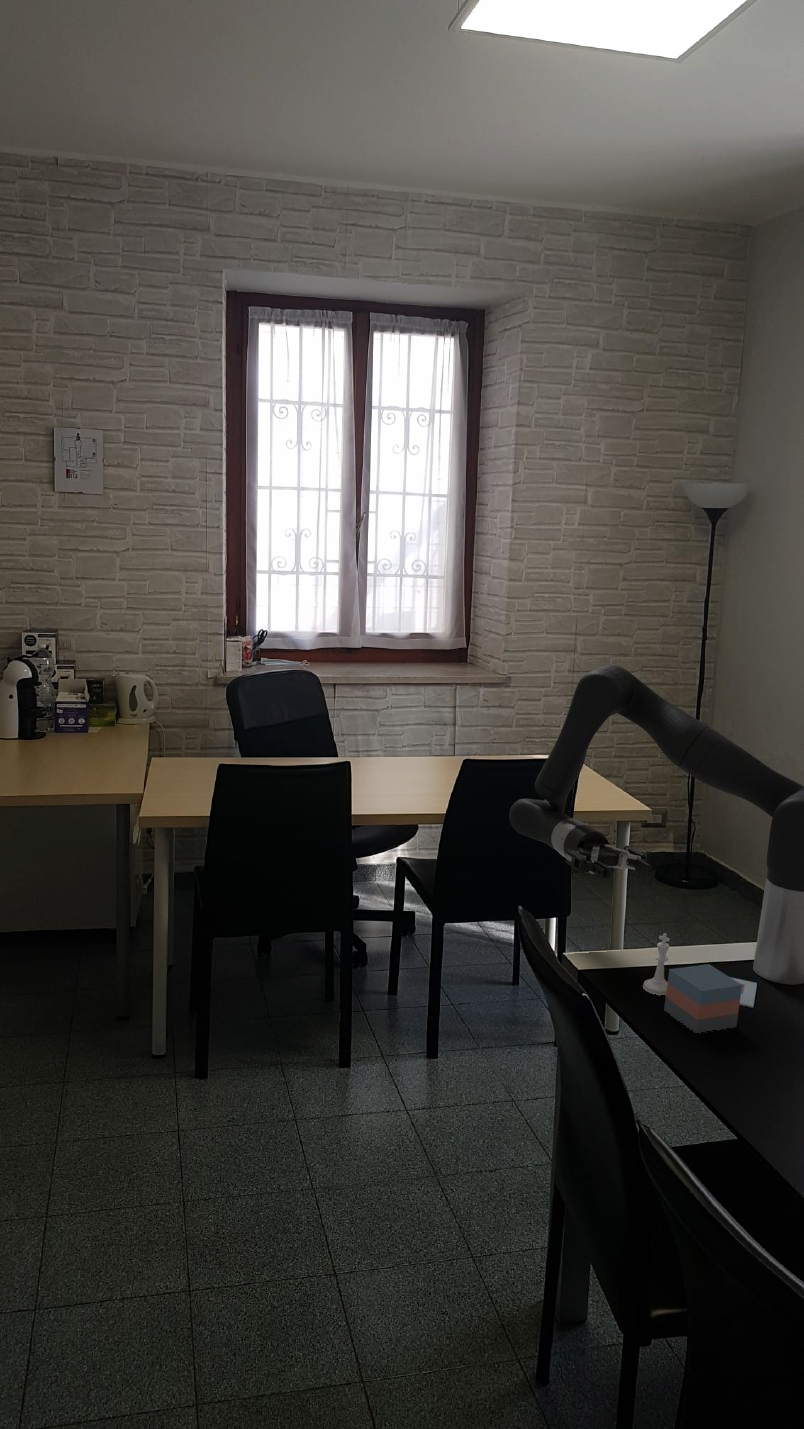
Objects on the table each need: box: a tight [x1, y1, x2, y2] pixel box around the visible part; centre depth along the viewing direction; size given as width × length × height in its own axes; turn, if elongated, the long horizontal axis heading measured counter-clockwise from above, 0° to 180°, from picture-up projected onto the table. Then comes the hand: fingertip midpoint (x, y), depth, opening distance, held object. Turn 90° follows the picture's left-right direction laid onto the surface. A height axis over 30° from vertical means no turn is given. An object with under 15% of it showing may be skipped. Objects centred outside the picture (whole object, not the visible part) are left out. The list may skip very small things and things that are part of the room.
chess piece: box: [642, 933, 670, 996], centre depth 180 cm, size 5×5×10 cm
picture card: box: [729, 976, 758, 1009], centre depth 183 cm, size 10×7×1 cm
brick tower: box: [663, 963, 742, 1034], centre depth 171 cm, size 8×8×7 cm
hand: (629, 873), depth 188 cm, fingers open, 8 cm apart
